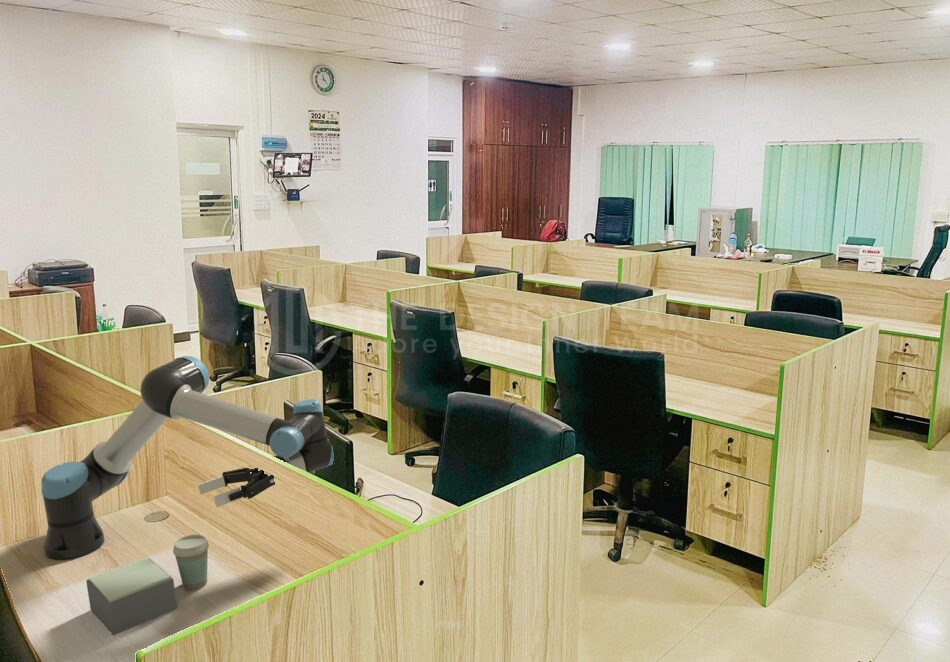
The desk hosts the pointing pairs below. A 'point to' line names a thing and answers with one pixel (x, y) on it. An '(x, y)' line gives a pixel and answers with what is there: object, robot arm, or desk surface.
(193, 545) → the coffee cup
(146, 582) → the block
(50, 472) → the robot arm
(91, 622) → the desk surface
